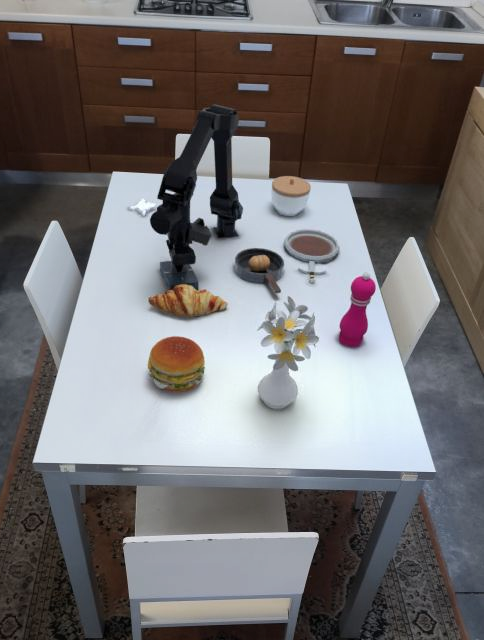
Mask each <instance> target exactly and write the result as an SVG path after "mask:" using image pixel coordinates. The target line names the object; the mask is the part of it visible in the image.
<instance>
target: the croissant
mask: <svg viewBox="0 0 484 640" xmlns="http://www.w3.org/2000/svg"><path fill="white" fill-rule="evenodd" d="M147 299H148V303H149V305H150V306H152V307H154V308H156V309H158V310H159V311H161V312H163V313H165V314H168V315H169V314H170V315H173V316H176V317H188V318H189V317H191V318H192V317H197V316H202V315H204V314H205V315H208V314H211V313H213V312H216V311H217V312H220V311H223V310H225V309H227V307H228V305H229V303H228V302H227V301H225V300H224V299H223V298H222V297H220V296H219V295H214V294H212V293H211V292H210V291H209V290H207V289H201V290H198V291H197V290H196V289H195V288H194V287H193V286H190V285H187V284H184V285H183V284H182V285H177V286H175V287H174V289H173V290H168V289H166V290H165V291H164V292H163V294H162V293H157V294H155V295H154V296H150V297H148V298H147Z"/></svg>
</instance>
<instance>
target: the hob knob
mask: <svg viewBox="0 0 484 640" xmlns="http://www.w3.org/2000/svg"><path fill="white" fill-rule="evenodd" d="M170 261H171V260H170ZM171 272H172V273H186V272H187V265H183V268H182V271H181V272H177V270H176V268H175V265H173V264H172V261H171Z"/></svg>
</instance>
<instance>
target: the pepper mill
mask: <svg viewBox="0 0 484 640" xmlns="http://www.w3.org/2000/svg"><path fill="white" fill-rule="evenodd" d="M376 288H377V286H376V282H375V280H374V279H373V278H371V274H370V273H369V272H364V273H362V275H359V276H357V277H356V278H354V279H353V281H352V282H351V285H350V292H351V294H350V297H349V300H350V306H349V308H348V310H347V311H346V313H344V315H343V316H342V317H341V319H340V322H339V330H340V331H339V334H338V340H339V342H340V344H342V345H344V346H346V347H349V348H355V347H359V346H361V345H362V344H363V340H364V335H365V334H367V332H368V330H369V329H368V327H369V320H368V316H367V308H368V306H369V305H370V303H371V300H372V297H373V296H374V295H375V293H376Z"/></svg>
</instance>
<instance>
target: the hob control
mask: <svg viewBox="0 0 484 640" xmlns="http://www.w3.org/2000/svg"><path fill="white" fill-rule="evenodd" d="M159 271H160V274H161V276H162V279H163V281H164V283H165V285H166V288H167V290H173V289H174V287H175V286H177V285H182V284H183V285H184V284H187V285H190V286H193V287H194V288H195V289H196V290H197V291H199V280H198V278H197V276H196V274H195V272H194V268H193V267H192V266H191V264H188V265H187V272H186V273H172V272H171V260H165V261H159Z"/></svg>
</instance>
